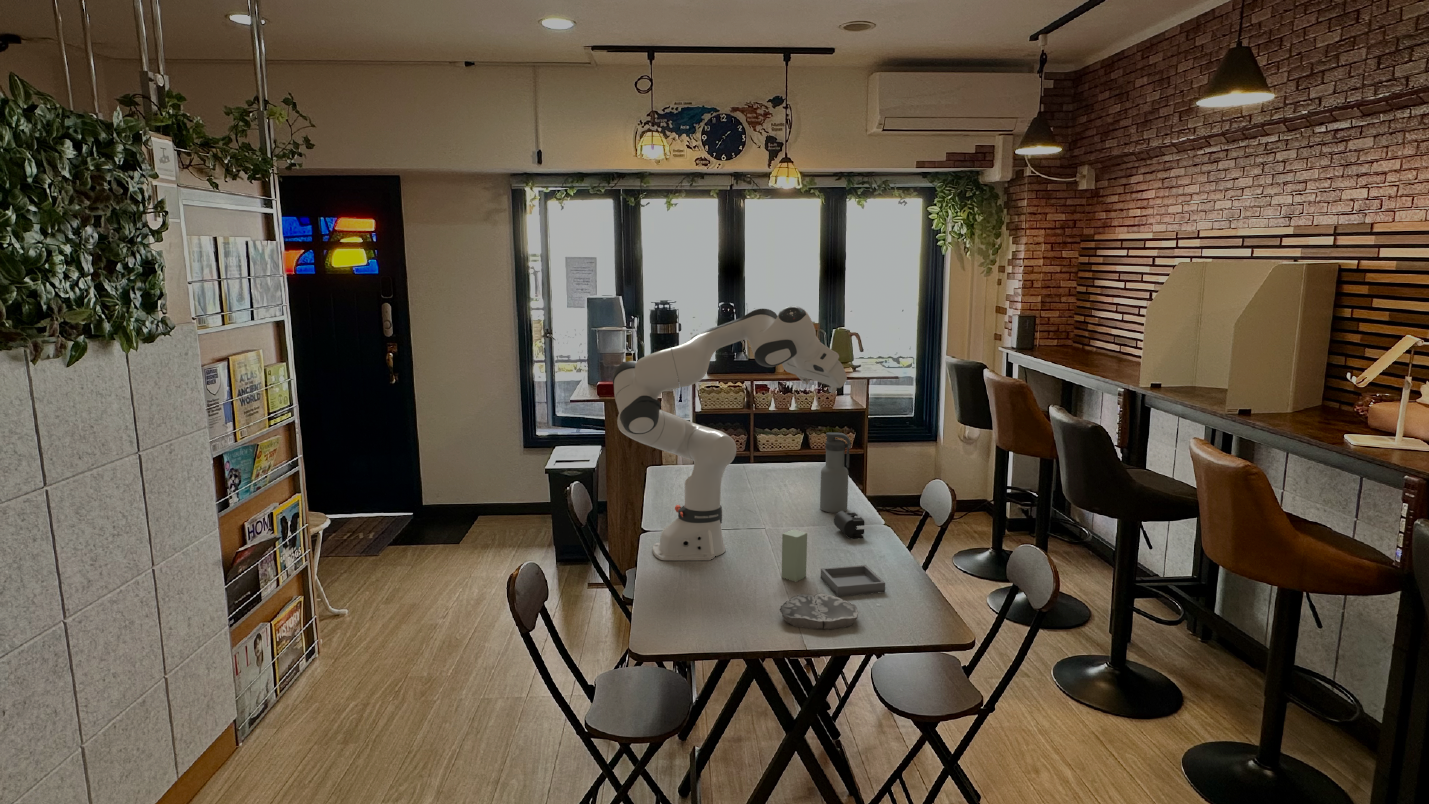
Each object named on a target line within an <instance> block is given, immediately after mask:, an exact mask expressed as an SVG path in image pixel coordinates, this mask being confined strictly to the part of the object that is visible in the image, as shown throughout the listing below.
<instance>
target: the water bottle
mask: <svg viewBox="0 0 1429 804" xmlns="http://www.w3.org/2000/svg"><path fill="white" fill-rule="evenodd" d="M825 437H826V441H825V447H824V448H825V449H824V450H825V466H823V467H822V468H821V470H820V489H819V490H820V492H819V493H820V494H819V508H820V510H821V511H823V512H826V513H830V514H837V513H838V512H840V511H844V512H846V511H847V510H848V503H849V502H848V499H849V493H848V492H849V470H848V468H850V449H851V448H852V444H851V440H850V438H849V437H848V435H846V434H845V433H843V432H830V431H829V432H826V433H825ZM836 438H837V439H836ZM842 439H843V440H842ZM844 440H845V441H844ZM845 451H846V458H845ZM845 459H846V462H845ZM845 463H846V467H845Z"/></svg>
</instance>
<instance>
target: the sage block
mask: <svg viewBox="0 0 1429 804" xmlns="http://www.w3.org/2000/svg"><path fill="white" fill-rule="evenodd" d="M781 535H782V538H781V539H782V540H781V541H782V542H781V578H782V577H783V578H782V579H785V578H786V580H788V579H789V581H792V580H793V581H792V582H795V583H797V582H799V581H801V580H803V579H804V577H805V578H806V577H807V558H808V557H807V556H808V555H807V554H808V553H807V552H808V533H807V532H804V531H800V530H797V529H793V528H792V529H791V530H788V531H786V532H782V534H781ZM798 580H799V581H798Z"/></svg>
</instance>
